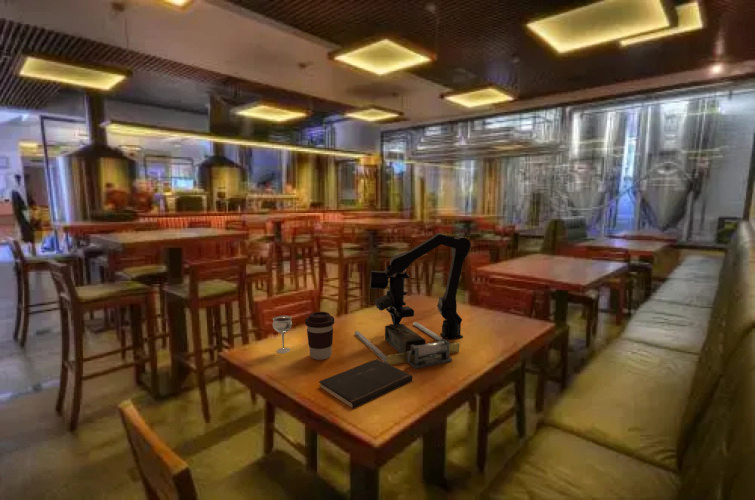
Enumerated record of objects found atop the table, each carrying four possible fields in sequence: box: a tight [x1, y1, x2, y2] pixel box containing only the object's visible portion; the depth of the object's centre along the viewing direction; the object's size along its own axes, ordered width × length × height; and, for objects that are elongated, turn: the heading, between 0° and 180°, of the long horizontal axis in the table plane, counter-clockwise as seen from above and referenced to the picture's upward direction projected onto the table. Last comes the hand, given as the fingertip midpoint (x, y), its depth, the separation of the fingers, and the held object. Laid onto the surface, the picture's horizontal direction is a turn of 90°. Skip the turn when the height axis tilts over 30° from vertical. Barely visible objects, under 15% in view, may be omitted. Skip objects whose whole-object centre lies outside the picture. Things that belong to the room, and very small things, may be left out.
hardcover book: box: [318, 358, 413, 410], centre depth 117 cm, size 16×23×2 cm
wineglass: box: [272, 314, 293, 354], centre depth 141 cm, size 7×7×12 cm
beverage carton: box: [384, 323, 427, 353], centre depth 143 cm, size 8×19×7 cm, turn 21°
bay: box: [354, 321, 460, 366], centre depth 149 cm, size 28×31×3 cm
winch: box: [405, 338, 453, 370], centre depth 131 cm, size 16×5×6 cm, turn 114°
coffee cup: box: [304, 311, 335, 361], centre depth 136 cm, size 10×10×15 cm
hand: (395, 327), depth 154 cm, fingers closed
